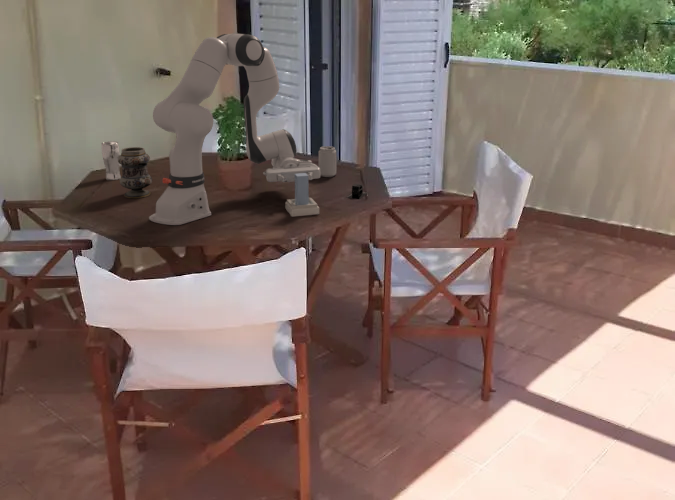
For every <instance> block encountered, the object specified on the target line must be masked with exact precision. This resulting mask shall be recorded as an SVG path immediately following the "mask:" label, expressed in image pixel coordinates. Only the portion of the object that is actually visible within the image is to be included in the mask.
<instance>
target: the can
mask: <svg viewBox="0 0 675 500" xmlns="http://www.w3.org/2000/svg"><path fill="white" fill-rule="evenodd" d="M318 167H319V168H320V173H321V174H320V177H324V178H332V177H335V175H337V150H336V148H335V147H334V146H332V145H331V146H330V145H327V146H321V147H319V150H318Z"/></svg>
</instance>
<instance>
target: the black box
mask: <svg viewBox="0 0 675 500" xmlns="http://www.w3.org/2000/svg"><path fill="white" fill-rule="evenodd" d="M367 193H368V192H364V185H363V184H362V183H354V184H353V185H352V187H351V193H350V194H349V195H347V196H346V198H347V199H354V200H360V199H363V198H364V197H365V196H367V195H368V194H367Z"/></svg>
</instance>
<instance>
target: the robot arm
mask: <svg viewBox="0 0 675 500" xmlns="http://www.w3.org/2000/svg"><path fill="white" fill-rule="evenodd" d="M226 65H229V66H234V67H244V69H245V71H246V76H247V81H248V86H249V87H248V92H247V94H246V95H245V97H244V99H243V111H244V112H243V114H244V127H245V128H244V129H245V152H246V155H247V157H248V159H249V161H251V162H252V163H255V164H256V165H257V164H262V163H265V162H267V161H270V160H271V165H272V167H269V168H266V170H265V171H263V172H262V174H263V175H264V176H265V177H266V182H269V183H275V182H282V183H294V182H295V174H298V173H306V174H307V175H308V181H312V180H314V179H315V180H316V179H320V178H321V175H320V174H321V173H320V168H319V165H317V164H315V163H313V161H312V160H311V159H298V158H295V157H296V154H297V151H298V150H297V145H296V141H295V139H294V137H293V136H292V134H291V133H290V132H289V131H288V130H286V129H284V128H283V129H280V130H276V131H272V132H269V133H265V134H262V135H258V126H257V114H258V113H259V111H261V109H262V108H263V107H264V106H266V105H268V104H269V103H270V102H272V100H273V99H275V97H276V96H277V95H278V93H279V90H280V79H279V75H278V71H277V67H276V64H275V62H274V59H273V56H272V54H271V51H270V50H269V49H268V48H267V47H265V46H264V45H263V43H262V42H261V40H260V39H259V37H256V36H255V35H252V34H248V33H247V34H246V33H224V34H221V35H218V36H217V37H214V36H209V37H206V38H204V39H203V40H202V41H201V43H200V44H199V46H198V47H197V48H196V51H195V52H194V53H193V56H192V58H191V59H190V62H189V64H188V66H187V69H186V71H185V73H184V74H183V75H182V76H183V77H182V78H181V80H180V81H179V82H178V84H177V85H176V87H175V88H174V89H173V91H171V93H170V94H169V95H168V96H167V97H165V99H163V100H161V101H159V102H158V103H157V104H156V105H155V107H154V108H153V111H152V120H153V122H154V123H155V125H156V126H157V127H159V128H160V129H161V130H164V131H166V132H169V133H173V134H176V139H175V143H174V146H173V147H172V148H171V149H170V150H169V153H168V157H169V158H168V159H169V170H170V171H169V172H170V174H169V176H168V178H167V177H163V178H162V183H163V184H167V187H166V188H165V189H164V191H163V192H162V194H161V195H160V197H158V199H157V201H156V203H155V213H153V214H151V215H149V216H148V220H149V221H151V222H154V223H157V224H161V225H168V226H180V225H184V224H187V223H190V222H194V221H197V220H199V219H203V218H207V217H210V216H212V212H211V210H210V208H209V206H210V205H209V201H208V195H207V191H206V188H205V174H204V171H203V157H202V156H203V154H202V152H203V147H204V146H203V145H204V143H205V139H206V137H207V135H209V134H210V132H211V130H212V129H213V127H214V117H213V114H212V112H211V111H210V110H209V109H207V108H205V107H204V106H202V105H200V104H201V103H202V102H204V101H205V100H207V99H208V98H210V97H211V96H212V94H214V93H213V92H214V91H215V88H216V86H217V84H218V82H219V79H220V77H221V75H222V72H223V70H224V67H226Z"/></svg>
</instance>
